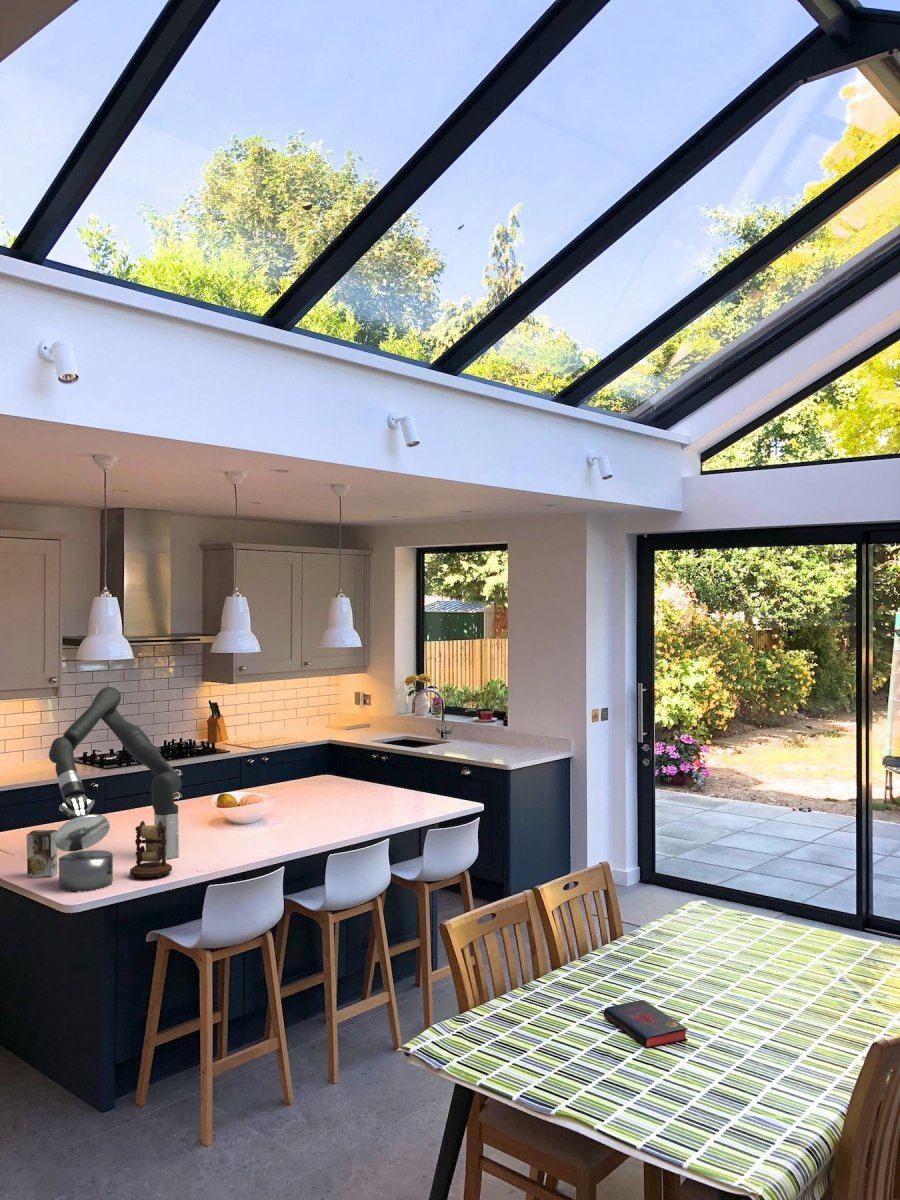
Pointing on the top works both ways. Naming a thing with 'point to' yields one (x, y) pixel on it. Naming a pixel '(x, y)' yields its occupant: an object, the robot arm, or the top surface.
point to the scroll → (151, 851)
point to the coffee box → (41, 853)
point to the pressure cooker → (85, 870)
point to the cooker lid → (81, 832)
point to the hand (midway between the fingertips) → (83, 825)
